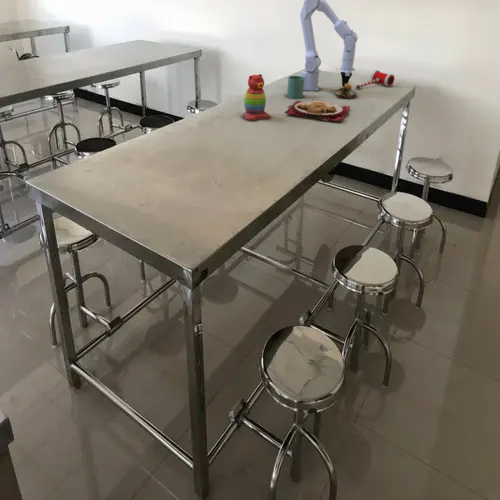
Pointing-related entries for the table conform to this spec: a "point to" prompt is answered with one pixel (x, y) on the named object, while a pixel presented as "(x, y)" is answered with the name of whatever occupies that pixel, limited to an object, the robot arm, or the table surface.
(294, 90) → the green cup
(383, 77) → the toy hammer
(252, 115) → the stacking bear
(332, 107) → the plate with food
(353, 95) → the burger
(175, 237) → the table surface
